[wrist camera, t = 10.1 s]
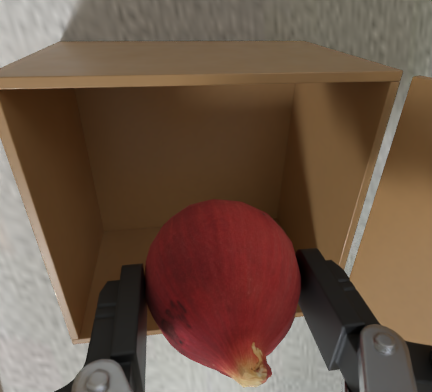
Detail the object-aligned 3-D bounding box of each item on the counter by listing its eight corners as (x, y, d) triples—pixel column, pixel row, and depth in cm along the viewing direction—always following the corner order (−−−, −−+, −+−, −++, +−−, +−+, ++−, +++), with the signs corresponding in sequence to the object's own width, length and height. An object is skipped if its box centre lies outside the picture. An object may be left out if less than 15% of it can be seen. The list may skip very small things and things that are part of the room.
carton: (304, 40, 21) (404, 70, 12) (279, 218, 28) (331, 313, 19) (58, 41, 19) (-22, 77, 10) (100, 232, 26) (72, 344, 17)
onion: (202, 280, 18) (228, 456, 11) (120, 220, 15) (88, 405, 8) (289, 218, 16) (380, 375, 10) (218, 139, 14) (276, 280, 7)
